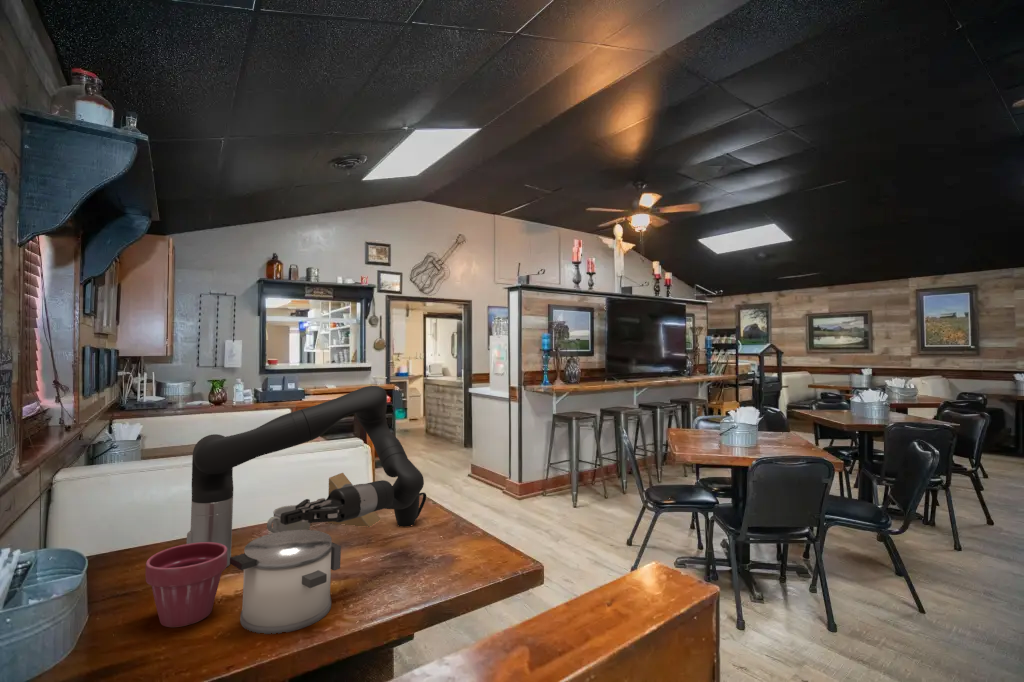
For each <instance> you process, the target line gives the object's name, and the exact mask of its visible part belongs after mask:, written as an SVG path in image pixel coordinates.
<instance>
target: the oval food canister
mask: <svg viewBox="0 0 1024 682" xmlns="http://www.w3.org/2000/svg"><path fill="white" fill-rule="evenodd" d="M341 549H342V546H341V544H340V545H339V544H338V543H335V542H333V541H332V542H331V551H330V553H329V554H328V555H327V556H325V557H324V558H322V559H320V560H318V561H315V562H313V563H310V564H306V565H302V566H298V567H292V568H284V569H261V568H255V567H251V568H247V569H244V570H243V582H242V583H243V584H242V586H243V587H242V588H243V589H242V609H241V612H240V621H239V622H240V625H241V626H242V628H244V629H245V630H246V629H247V631H248V630H249V632H251V631H252V633H255V632H256V633H255V634H260V633H264V634H263V635H277V634H276V633H278V634H283V633H282V632H286V633H291V632H295V631H297V630H302V629H304V628H307V627H309V626H311V625H314V624H315V623H318V622H319V621H320V620H322V619H324V618H325V617H326V616H327V614H328V613H330V610H331V608H332V597H331V576H332V575H331V573H332V572H331V570H332V571H337V570H339V569H341V553H342V550H341ZM271 633H272V634H271Z"/></svg>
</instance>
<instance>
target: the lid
mask: <svg viewBox="0 0 1024 682" xmlns="http://www.w3.org/2000/svg"><path fill="white" fill-rule="evenodd" d="M331 542H332V543H333V541H332V537H331V535H330V534H328V533H327V532H323V531H321V530H313V529H309V530H290V531H283V532H277V533H273V532H271V533H269V534H266V535H263V536H260V537H257V538H255V539H253V540H251V541H249V542H248V543H247V544H246V545H245V547H244V553H240V554H238V555H234V556H231V557H230V565H232V566H233V567H235V568H237V569H239V570H241V571H244V569H247V568H251V567H255V568H261V569H284V568H292V567H298V566H302V565H306V564H310V563H313V562H315V561H318V560H320V559H322V558H324V557H325V556H327V555H328V554H329V553H330V551H331Z"/></svg>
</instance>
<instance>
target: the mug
mask: <svg viewBox="0 0 1024 682" xmlns="http://www.w3.org/2000/svg"><path fill="white" fill-rule="evenodd" d="M420 496H422V500H421V503H420ZM426 501H427V494H426V492H423V491H422V492H420V493H419V494H418V496H417V497H416V499H415V500H414V502H413V503H412V504H411V505H410V506H409V507H407V508H404V509H393V511H394V517H395V520H396V523H397V526H398V525H399V526H398V527H400V526H410V527H412V526H411V525H413V526H414V525H415V524H416V521H417V519H418V518H419V516H420V514H421V513H422V510H423V508H424V505H425V502H426Z"/></svg>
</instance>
